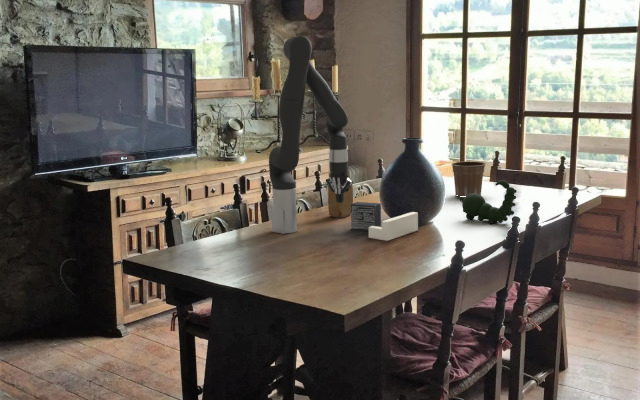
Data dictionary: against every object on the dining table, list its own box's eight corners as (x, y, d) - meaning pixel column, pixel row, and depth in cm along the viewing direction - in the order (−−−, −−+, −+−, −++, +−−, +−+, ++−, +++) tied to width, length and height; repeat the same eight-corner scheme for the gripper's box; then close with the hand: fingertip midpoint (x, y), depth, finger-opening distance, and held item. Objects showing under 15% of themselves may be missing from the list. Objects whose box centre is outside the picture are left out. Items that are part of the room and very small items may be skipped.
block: (340, 219, 291) (339, 172, 287) (326, 216, 296) (325, 170, 292) (355, 214, 299) (355, 169, 295) (342, 212, 304) (341, 167, 300)
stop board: (387, 240, 253) (387, 222, 251) (368, 237, 258) (368, 219, 257) (417, 230, 268) (417, 212, 267) (399, 227, 273) (399, 210, 272)
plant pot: (451, 199, 329) (451, 165, 326) (450, 193, 345) (450, 161, 342) (485, 199, 327) (486, 165, 324) (483, 193, 342) (484, 161, 339)
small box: (381, 228, 272) (381, 202, 270) (376, 232, 266) (375, 205, 264) (357, 226, 276) (356, 201, 274) (350, 230, 271) (350, 204, 269)
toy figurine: (516, 227, 277) (461, 214, 293) (521, 181, 272) (466, 170, 288) (504, 231, 270) (450, 218, 286) (510, 184, 265) (454, 173, 281)
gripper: (319, 160, 277) (321, 202, 280) (345, 162, 268) (347, 206, 272) (331, 157, 282) (333, 199, 286) (357, 159, 274) (358, 202, 277)
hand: (340, 202), depth 279 cm, fingers closed
